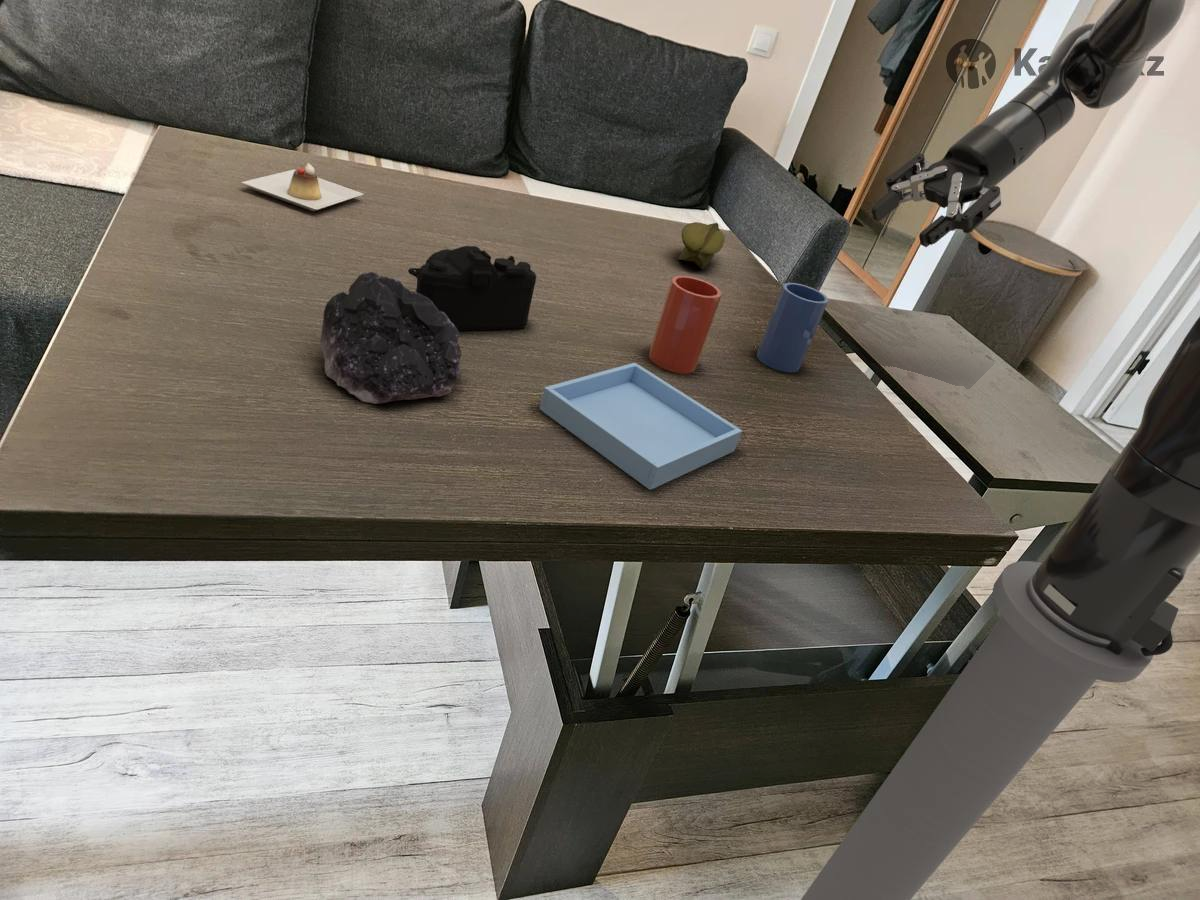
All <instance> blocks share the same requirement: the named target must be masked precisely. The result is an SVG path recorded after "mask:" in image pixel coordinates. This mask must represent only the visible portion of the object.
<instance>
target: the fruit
mask: <svg viewBox="0 0 1200 900" xmlns="http://www.w3.org/2000/svg"><path fill="white" fill-rule="evenodd" d="M681 241H682V243H683V245H684V247H683V248H682V250H681V252H680V254H679V257H678V260H681V261H686V262H693V263H694V264H695V265H697V267H698V268H700V269H701V270H704V269H706V267H707V266H709V264H710V263H711V261H712V259H713V257H714V256H715V254H717V253H719V252H720V251H721V250H722V249H723V246H724V243H725V234H724V233H723V232H722V231H721V229H720V227H719V223H718V222H713V223H708V224H707V223H703V222H698V221H695V222H690V223H687V224H685V225H684V227H683V228H682V229H681Z"/></svg>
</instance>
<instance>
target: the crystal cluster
mask: <svg viewBox="0 0 1200 900" xmlns="http://www.w3.org/2000/svg"><path fill="white" fill-rule="evenodd" d="M459 336H460V331H458V330H457V328H456V326H455V325H454V324H453V323H452V322H450V320H449V318H448V317H447V315H446V314H445V313H444V312H442V311H439V310H438V309H437V307H436V306H435V305H434V303H433V302H432V301H431V300H430V299H429V298H428V297H425V296H424V295H422V294H419V293H417V292H416V291H411V290H409V289H408V288H407V287H405V286H404V284H403V283H402V282H401V281H400V280H399V279H397V278H395V277H388V276H385V275H384V276H383V275H379V274H378V273H376V272H374V271H369V272H363V273H361V274H359V275H358V277H357V278H356V279H355V280H354V281H353V282H352V283H351V285H350V286H349V289H348V294H347V293H346V292H345V291H342V292H338V293H336V294H334V295H333V296H332V297H331V298H330V299H328V301H327V302H326V304H325V307H324V311H323V319H322V327H321V334H320V344H321V352H322V354H323V359H324V372H325V375H326V376H327V377H328V378H330V379H331V380H333V381H334V382H335V383H336V385H337V386H338V387H341V388H343V389H345V390H346V391H347V392H348V393H349V394H350V395H353V396H355V397H356V398H357V399H358V401H359V400H360V401H361V402H364V403H370V404H374V405H377V404H385V403H390V402H395V401H403V400H405V401H406V400H408V401H409V400H410V401H411V400H418V399H423V398H433V397H440V398H441V397H443V396H445V395H449V394H451V392H452V390H453V388H454V387H455V384H456V383H455V382H456V381H457V379H458V377H459V376H460V360H461V356H462V350H461V347H460V345H459Z"/></svg>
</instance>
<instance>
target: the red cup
mask: <svg viewBox="0 0 1200 900" xmlns="http://www.w3.org/2000/svg"><path fill="white" fill-rule="evenodd" d="M722 295H723V294H722V291H721V290H720V288H718V287H717V286H716V285H714V284H712V283H711V282H709V281H706V280H703V279H701V278H697V277H694V276H689V275H675V276H673V277H672V279H671V280H670V284H669V287H668V290H667V293H666V297H665V300H664V302H663V306H662V309H661V313H660V317H659V320H658V322H657V326H656V329H655V332H654V335H653V339H652V343H651V345H650V348H649V353H648V358H649V360H650V362H651V363H652V364H654V365H656V366H657V367H659V368H660V369H662V370H665V371H667V372H672V373H675V374H680V375H681V374H684V375H686V374H691V373H694V372H695V370H696V369H697V367H698V364H699V361H700V358H701V355H702V353H703V349H704V346H705V343H706V341H707V338H708V335H709V332H710V329H711V327H712V324H713V321H714V318H715V315H716V313H717V310H718V307H719V303H720V301H721V298H722Z"/></svg>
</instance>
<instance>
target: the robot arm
mask: <svg viewBox="0 0 1200 900" xmlns="http://www.w3.org/2000/svg"><path fill="white" fill-rule="evenodd" d="M1185 5H1186V0H1113V1H1112V3H1111V4H1110V5H1109V6H1108V7H1107V8H1106V9H1105V10H1104V12H1103V13H1102V15H1100V17H1099V18H1098V19H1097V21H1096V22H1095V23H1094V22H1093V23H1087V24H1083V25H1081V26H1078V27H1076V28H1074V29H1072V30H1071V32H1069V33H1068V34H1067V35H1065V38H1063V39H1062V41H1061V42H1060V44H1059V45H1058V46H1057V47H1056V48H1055V50H1054V52H1053V53H1052V55H1051V56H1050V58H1049V59H1048V60H1047V63H1046V64H1045V65H1044V66H1043V68H1042V69H1041V71H1040V72H1039V73H1038V74H1037V75H1036V77H1035V78H1034V79H1033V80H1032V81H1031V82H1030V83H1029V84H1028V85H1027V86H1026V87H1025V88H1023V89H1022V90H1021V91H1020V92H1019V93H1018V94H1017V95H1015V96H1014V97H1013V98H1012V99H1010V100H1009V101H1008V102H1006V103H1005V104H1004V105H1003V106H1001V107H1000V108H998V109H996V110H995V111H993V112H992V113H990V114H989V115H988V116H986V117H985V118H984V119H983V120H981V121H980V122H979V123H978V124H977V125H976V126H974V127H973V128H972V129H971V130H969V131H968V132H966V133H965V134H964V135H963V136H962V137H961V138H960V139H958V140H957V141H956V142H955V143H954V144H952V145H951V146H950V147H949V148H948V150H947V152H946V153H945V155H944V156H943V158H942V159H941V160H938V161H936V162H933V163H931V162H929V161H927V160H926V156H925V154H924V153H918V154H916V155H915V156H914V157H912V158H911V159H910V160H908V161H907V162H906V163H904V164H902V165H901V166H900V167H899V168H897V169H896V170H895V171H894V172H893V173H891V174H890V175H888V176H887V177H886V178H885V184H886V188H887V193H885V194H884V195H883V196H882V197H881V198H880V199H878V200H877V201H876V202H875V203H874V204H873V205H872V208H871V214H872V219H873V220H874V221H876V222H881V221H882V220H884V218H886V217H887V216H888V215H889V214H891V213H892V212H893V211H894V210H895V209H897V208H898V207H899V206H900V204H903V203H906V202H910V201H913V202H917V203H918V202H921V201H924V200H926V201H928V202H930V203H935V204H937V205H938V206H939V207H941V208H943V209H945V208H946V212H945V216H944V215H943V214H941V215H940V216H938V217H937V218H936V219H935V220H934V221H933V222H931V223H930V224H929V225H928V226H926V227H925V228H924V229H923V230H921V232H920V233H919V235H918V238H919V243H920V245H921V246H922V247H924V248H928V247H929V246H933V245H934V244H936V243H938V242H939V241H940V240H941V239H942V238H943V237H945V236H946V235H947V234H949V233H950V232H954V231H956V230H962V232H963V233H964V234H970V233H972V232H973V231H974V230H975V229H976V228H978V227H979V226H980V225H981V224H982V223H983V222H984V221H986V219H988V217H990V216H991V215H992V214H993V213H994V212H995V211H996V210H997V209H999V207H1001V206H1002V196H1001V195H1002V194H1001V188H1000V187H999V186H998V184H999V183H1001V182H1002V181H1003V180H1004V179H1006V178H1007V177H1008V176H1009V175H1011V174H1012V173H1013V172H1014V171H1015V170H1017V169H1018V168H1019V167H1021V165H1023V164H1024V163H1025V162H1026V161H1028V159H1030V158H1031V157H1032V155H1034V153H1035V152H1036V151H1037V150H1038V149H1039V148H1040V147H1041V146H1043V145H1044V144H1045V143H1047V141H1049V140H1050V139H1052V137H1054V136H1055V135H1056V134H1057V133H1058V132H1060V131H1061V130H1062V129H1063V128H1064V127H1065V126H1067V124H1069V123H1070V121H1071V120H1072V119H1073V117H1074V115H1075V112H1076V103H1075V99H1074V97H1076V99H1077V100H1078V101H1079V102H1080V103H1081V104H1082V105H1083V106H1085V107H1087V108H1089V109H1092V110H1101V109H1105V108H1108V107H1111V106H1112V105H1114V104H1116V103H1117V102H1119V101H1120V100H1122V99H1123V98H1124V97H1125V96H1126V95H1127V94H1128V93H1129V92H1130V90H1132V88H1133V87H1134V85H1136V82H1137V81H1138V79H1139V77H1140V75H1141V73H1142V72H1143V69H1144V67H1145V65H1146V62H1147V58H1148V56H1149V54H1150V52H1151V51H1153V50H1154V48H1156V46H1158V45H1159V44H1160V43H1161V42H1162V41H1163V40H1164V39H1165V38H1166V37H1167V36H1168V35H1169V34H1170V33H1171V32H1172V31H1173V29H1174V28H1175V27H1176V25H1177V24H1178V22H1179V20H1180V19H1181V16H1182V14H1183V12H1184V8H1185ZM920 184H922V185H923V187H922V188H923V190H919V187H918V186H919V185H920ZM907 190H910V191H907ZM905 191H907V192H905ZM970 202H974V203H972V204H971V205H970V206H969V207H968V208H967V209H965V210H964V206H965V204H967V203H970ZM1199 555H1200V316H1199V317H1198V318H1197V319H1196V321H1195V322H1194V323H1193V325H1192V326H1191V328H1190V329H1189V331H1188V333H1186V335H1185V336H1184V338H1183V340H1182V341H1181V343H1180V344H1179V346H1178V348H1177V350H1176V351H1175V353H1174V355H1173V357H1172V358H1171V359H1170V361H1169V363H1168V364H1167V366H1166V368H1165V370H1164V371H1163V373H1162V374H1161V376H1160V377H1159V378H1158V380H1157V382H1156V384H1155V385H1154V387H1153V388H1152V390H1151V392H1150V393H1149V396H1148V397H1147V400H1146V401H1145V405H1144V408H1143V413H1142V417H1141V421H1140V423H1139V426H1138V428H1137V429H1136V431H1135V432H1134V433H1133V435H1132V436H1131V438H1130V439H1129V441H1128V442H1127V443H1126V445H1125V446H1124V448H1123V449H1122V450H1121V452H1120V453H1119V455H1118V456H1117V458H1116V459H1115V460H1114V462H1113V463H1112V464H1111V466H1110V468H1108V471H1107V472H1106V473H1105V475H1104V476H1103V477H1102V478H1101V480H1100V481H1099V482H1098V484H1097V486H1096V487H1095V489H1094V490H1093V492H1092V493H1091V494H1090V496H1088V498H1087V500H1086V501H1085V502H1084V504H1083V506H1082V507H1080V509H1079V511H1078V512H1077V513H1076V515H1075V516H1074V518H1073V519H1072V521H1071V522H1070V523H1069V525H1068V526H1067V527H1066V529H1065V530H1064V532H1063V533H1062V535H1061V536H1060V537H1059V539H1058V540H1057V542H1055V545H1054V546H1053V547H1052V548H1051V550H1050V551H1049V553H1048V555H1047V556H1046V557H1045V558H1044V560H1043V561H1042V562H1041V563H1042V564H1041V565H1040V566H1039V568H1038V569H1037V571H1036V572H1035V573H1034V574H1033V575H1032V576H1031V578H1030V579H1029V581H1028V582H1027V585H1026V591H1027V594H1028V597H1029V598H1030V600H1031V602H1032V603H1033V605H1034V606H1035V607H1036V608H1037V610H1038V611H1039V612H1040V613H1041V614H1042V615H1043V616H1044V617H1046V618H1047V619H1048V620H1049V621H1050V622H1052V623H1053V624H1054V625H1055V626H1057V627H1058V628H1060V629H1061V630H1063V631H1064V632H1066V633H1068V634H1069V635H1071V636H1073V637H1075V638H1077V639H1079V640H1081V641H1084V642H1086V643H1089V644H1092V645H1095V646H1098V647H1103V648H1106V649H1108V650H1110V651H1111V652H1113V653H1114V654H1116V655H1119V654H1120V653H1121V652H1122V651H1123V650H1124V648H1125V647H1126V646H1127V645H1128V644H1129V642H1130V641H1131V640H1133V641H1135V642H1136V643H1138V644H1140V645H1141V646H1143V648H1141V652H1142V654H1143V655H1144V656H1152V655H1153V656H1160V655H1164V654H1165V653H1167V652H1168V651H1170V650H1171V649H1172V647H1173V644H1174V640H1173V639H1174V638H1173V634H1172V628H1173V626H1174V623H1175V620H1176V617H1177V615H1178V612H1179V610H1180V609H1179V607H1176V606H1175V605H1173V604H1171V603H1170V602H1168V601H1166V600H1167V599H1168V598H1169V596H1170V595H1172V593H1173V592H1174V591H1175V589H1176V588H1177V587H1178V586H1179V584H1181V583H1182V582H1183V580H1184V578H1185V575H1186V573H1187V570H1188V569H1189V567H1190V566H1191V565H1192V564H1193V562H1195V560H1197V558H1198V556H1199Z"/></svg>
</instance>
